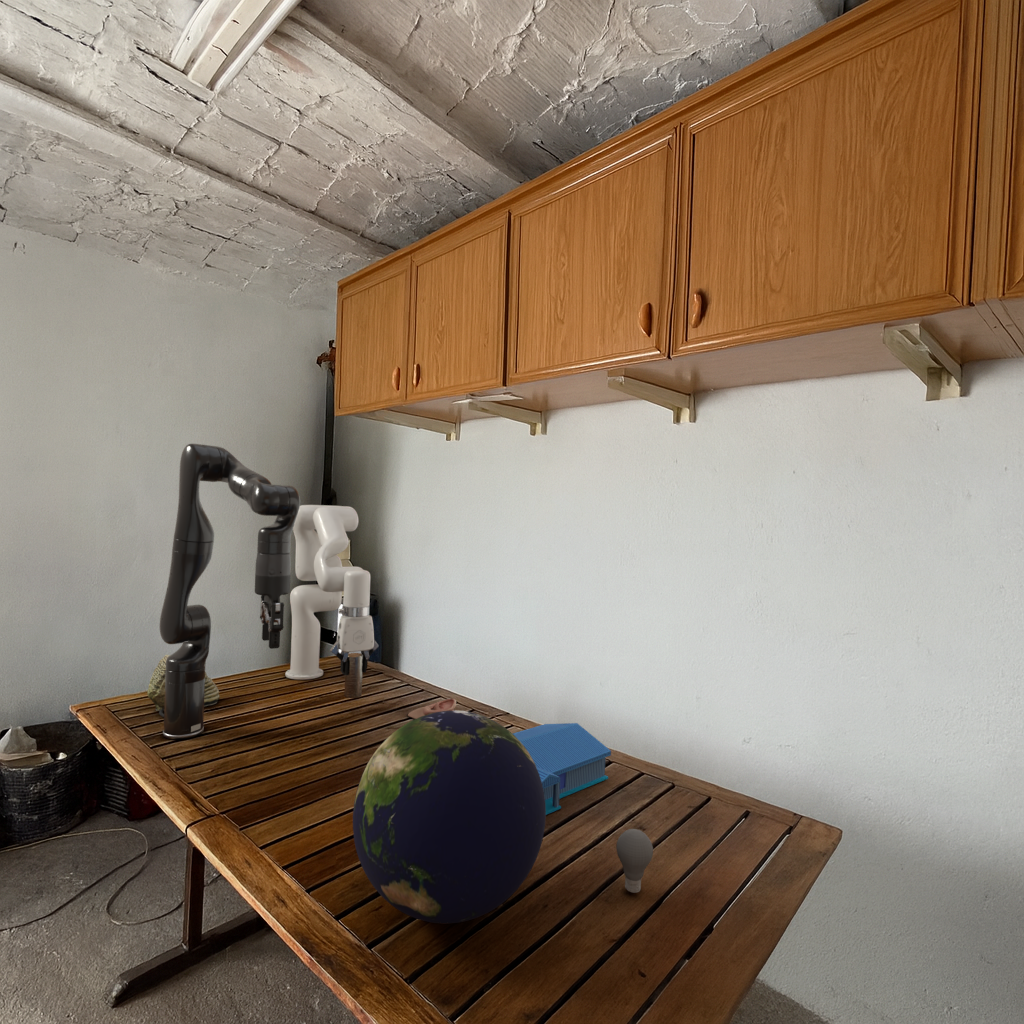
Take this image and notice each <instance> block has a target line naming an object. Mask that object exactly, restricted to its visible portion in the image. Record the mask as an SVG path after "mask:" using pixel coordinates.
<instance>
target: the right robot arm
mask: <svg viewBox="0 0 1024 1024" xmlns="http://www.w3.org/2000/svg"><path fill="white" fill-rule="evenodd" d="M359 521H360V520H359V515H358V512H357V511H356V509H355V508H354V507H352V506H346V505H343V506H342V505H328V504H327V505H324V504H300V508H299V511H298V514H297V517H296V520H295V524H294V527H293V530H292V533H293V535H294V538H295V565H294V566H295V576H296V578H297V579H298V580H299V581H302V582H314V581H315V582H317V583H316V584H301V585H298V586H295V587H294V588H292V589H291V590H290V593H289V594H290V595H289V602H290V611H291V639H290V641H291V642H290V667H289V668H290V669H287V670H286V671H285V674H284V675H285V677H286V678H288V679H291V680H296V681H303V680H304V681H306V680H313V679H318V678H320V677H322V676H323V675H324V670H323V669H322V668H320V650H321V649H320V647H321V623H320V620H319V619H318V617H316V615H315V613H319V612H330V611H331V612H332V611H336V610H338V614H340V615H342V616H340V618H339V623H338V627H337V635H336V641H335V642H334V644H333V645H332V646H331V648H330V649H329V652H330V653H332V655H335V656H336V657H337V659H339V660H340V672H341V674H342V675H344V676H345V675H348V662H347V657H348V654H349V653H358V652H360V653H361V654H363V672H362V674H366V673H367V669H368V662H369V661H368V660H369V659H370V656H372V654H373V653H374V652H375V651H376V650H377V649H378V648H379V644H378V643H377V641H376V640H375V630H374V629H375V628H374V621H373V616H372V615H370V601H371V600H370V598H371V572H369V570H366V569H363V568H362V567H361V566H343V563H342V559H341V558H340V556H339V555H340V554H341V553H342V552H344V551H345V550H346V549H348V546H349V543H350V542H349V537H348V535H347V532H354V531H356V529H357V528H358V526H359ZM342 598H343V599H342ZM342 601H343V603H342ZM341 605H342V608H340V607H341ZM338 650H341V651H338Z"/></svg>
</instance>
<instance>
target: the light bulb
mask: <svg viewBox="0 0 1024 1024" xmlns="http://www.w3.org/2000/svg"><path fill="white" fill-rule="evenodd" d="M615 849H616V854H617V857H618V859H619V861H620V863H621V865H622V867H623V873H624V874H623V875H624V876H625V878H624V888H625V890H627V891H628V892H630V893H634V894H635V893H639V892H640V891H641V889H642V887H641V886H642V879H643V877H644V875H645V871H646V868H647V867H648V866H649V864H650V863H651V861H652V859H653V855H654V847H653V843H652V841H651V838H649V836H648V835H647V834H646V833H645V832H643V831H642V830H641V829H636V828H629V829H627V830H625V831H623V832H622V833H621V834H620V835H619V837H618V839H617V841H616V847H615Z"/></svg>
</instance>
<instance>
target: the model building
mask: <svg viewBox="0 0 1024 1024" xmlns="http://www.w3.org/2000/svg"><path fill="white" fill-rule="evenodd" d="M512 734H513V735H514V736H515V737H516V738H517V739H518V740H519V741H520V742H521V743H522V744H523V746H524V747H525V748H526V749H527V751H528V752H529V754H530V756H531V757H532V759H533V761H534V763H535V765H536V768H537V770H538V773H539V775H540V779H541V782H542V786H543V791H544V796H545V806H546V816H547V815H549V814H552V813H554V812H556V811H559V810H561V809H562V806H561V805H560V799H563V798H565V797H567V796H570V795H572V794H575V793H578V792H580V791H583V790H584V789H587V788H589V787H591V786H594V785H596V784H599V783H601V782H603V781H606V780H609V776H608V775H606V758H607V757H610V756H612V750H611V749H609V748H608V747H607V746H606V745H605V744H603V742H601V741H600V740H598V739H597V738H596V737H595V736H594V735H592V734H591V733H590V732H589V731H588V730H586V729H585V728H584V727H583V726H581V725H580V724H579V723H578V722H572V723H571V722H568V723H564V722H563V723H544V724H540V725H537V726H533V727H531V728H527V729H524V730H523V729H522V730H520V731H516V732H512Z"/></svg>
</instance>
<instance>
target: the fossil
mask: <svg viewBox="0 0 1024 1024" xmlns="http://www.w3.org/2000/svg"><path fill="white" fill-rule="evenodd" d="M170 655H171V654H165V655H164V656H163V657H162V658H161V659H160V660H159V662H158V663H157V666H156V667H155V669H154V670H153V672H152V675H151V677H150V680H149V684H148V688H147V697H148V699H149V700H150V701H152V703H153V704H154V706H155V711H158V712H159V711H160V710H161V709H163V708H164V705H165V674H166V660H167V658H168V657H169V656H170ZM220 698H221V696H220V690H219V688H218V686H217V685H216V683H215V682H214V681H213V679H212V678H211V677H209V675H208V674H207V672H206V671H205V693H204V707H207V706H213V705H215V704H217V703H218V701H219V699H220Z"/></svg>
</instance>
